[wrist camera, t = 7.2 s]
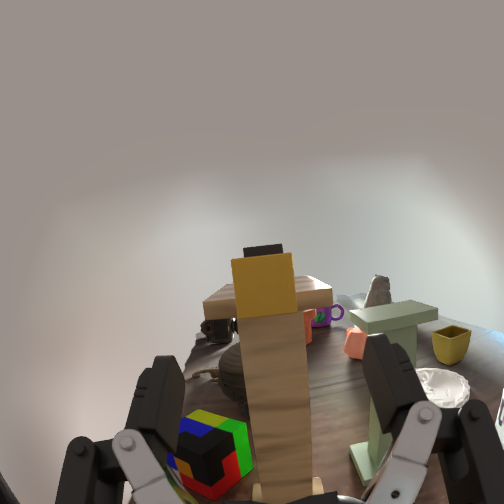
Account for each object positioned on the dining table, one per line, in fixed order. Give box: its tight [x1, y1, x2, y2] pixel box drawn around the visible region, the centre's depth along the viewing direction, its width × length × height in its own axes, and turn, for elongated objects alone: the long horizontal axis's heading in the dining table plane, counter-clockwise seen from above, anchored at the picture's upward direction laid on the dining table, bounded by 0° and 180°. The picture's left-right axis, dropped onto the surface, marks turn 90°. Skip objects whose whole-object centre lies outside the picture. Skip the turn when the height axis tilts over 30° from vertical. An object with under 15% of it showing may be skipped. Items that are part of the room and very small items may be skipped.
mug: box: [311, 304, 344, 327], centre depth 134 cm, size 17×11×10 cm, turn 78°
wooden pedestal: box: [203, 276, 333, 504], centre depth 29 cm, size 14×10×32 cm
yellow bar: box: [231, 244, 298, 319], centre depth 25 cm, size 20×4×4 cm, turn 177°
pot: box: [218, 342, 250, 419], centre depth 62 cm, size 18×18×20 cm
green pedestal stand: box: [349, 300, 438, 487], centre depth 36 cm, size 10×10×26 cm
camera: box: [200, 318, 239, 344], centre depth 133 cm, size 25×18×18 cm
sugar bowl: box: [344, 327, 370, 360], centre depth 87 cm, size 12×14×10 cm
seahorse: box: [192, 367, 220, 383], centre depth 84 cm, size 9×16×3 cm, turn 42°
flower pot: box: [432, 325, 471, 366], centre depth 65 cm, size 9×9×9 cm
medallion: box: [416, 368, 470, 408], centre depth 54 cm, size 24×27×2 cm
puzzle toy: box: [166, 409, 253, 501], centre depth 39 cm, size 10×10×10 cm
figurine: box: [363, 275, 391, 308], centre depth 129 cm, size 14×16×20 cm
